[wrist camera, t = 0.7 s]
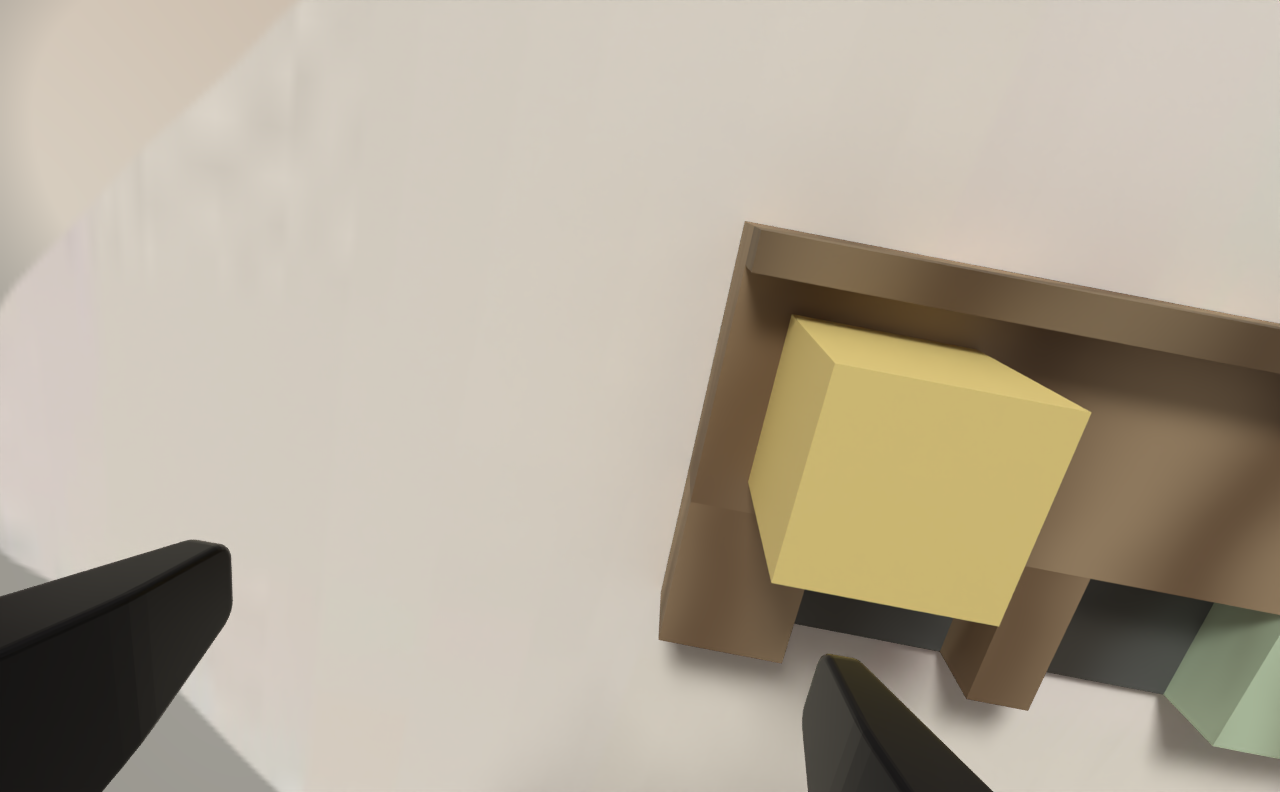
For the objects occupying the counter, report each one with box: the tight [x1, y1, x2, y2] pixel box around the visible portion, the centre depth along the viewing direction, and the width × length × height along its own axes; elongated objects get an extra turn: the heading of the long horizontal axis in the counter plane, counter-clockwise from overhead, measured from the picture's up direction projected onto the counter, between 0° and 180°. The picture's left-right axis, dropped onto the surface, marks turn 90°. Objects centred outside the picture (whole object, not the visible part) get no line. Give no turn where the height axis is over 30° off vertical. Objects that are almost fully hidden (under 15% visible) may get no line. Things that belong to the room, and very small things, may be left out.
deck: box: [659, 221, 1280, 759], centre depth 18 cm, size 26×13×6 cm, turn 79°
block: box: [748, 314, 1092, 627], centre depth 15 cm, size 5×5×5 cm
